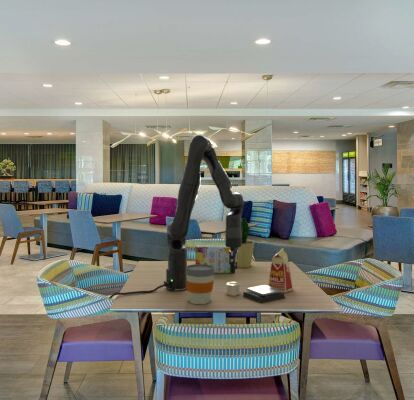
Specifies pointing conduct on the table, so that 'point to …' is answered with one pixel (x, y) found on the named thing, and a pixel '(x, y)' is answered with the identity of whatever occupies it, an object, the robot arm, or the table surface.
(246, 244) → the potted cactus
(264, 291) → the grey square plate
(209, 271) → the reusable coffee cup
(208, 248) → the snack box
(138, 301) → the table surface
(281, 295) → the scale
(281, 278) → the milk carton
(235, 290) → the white cup
